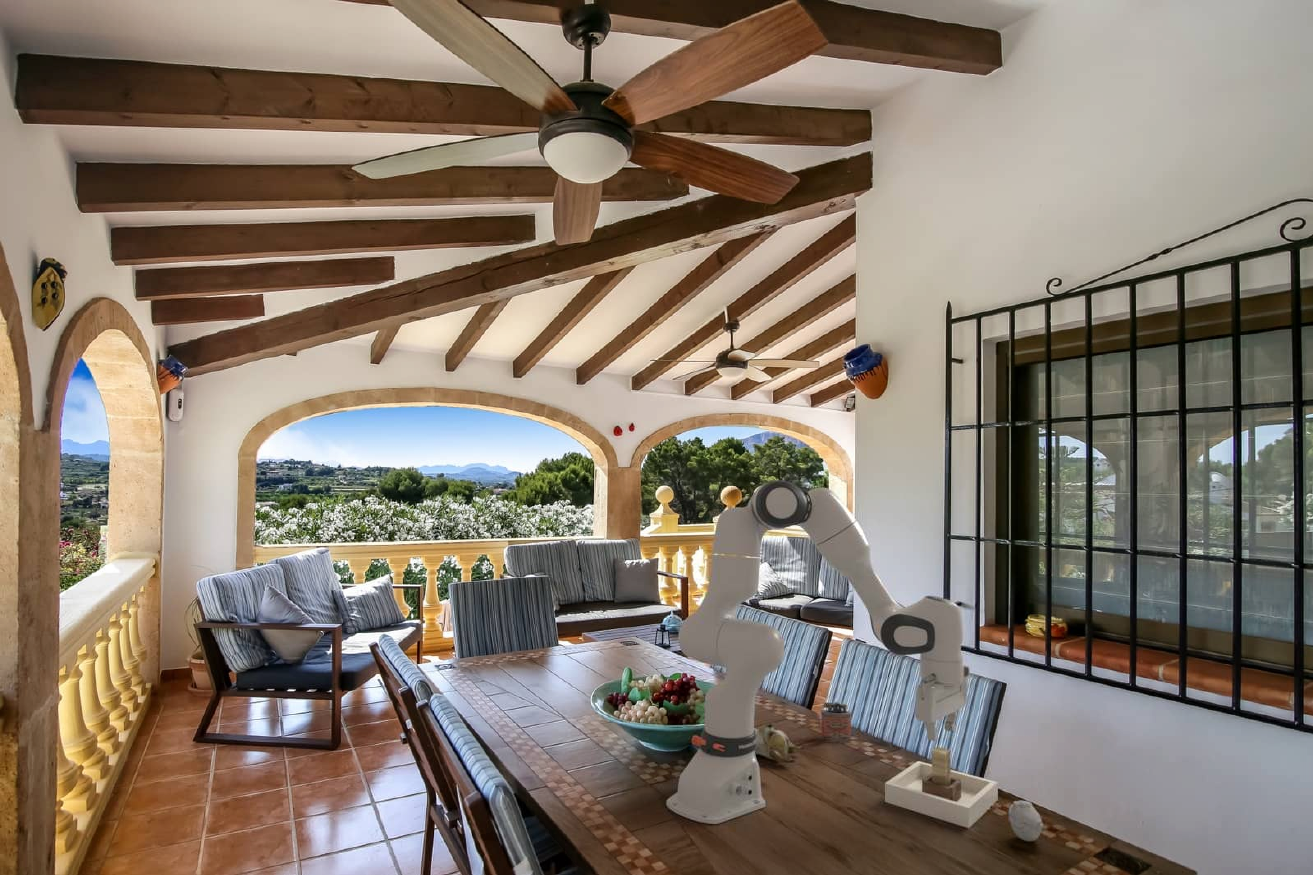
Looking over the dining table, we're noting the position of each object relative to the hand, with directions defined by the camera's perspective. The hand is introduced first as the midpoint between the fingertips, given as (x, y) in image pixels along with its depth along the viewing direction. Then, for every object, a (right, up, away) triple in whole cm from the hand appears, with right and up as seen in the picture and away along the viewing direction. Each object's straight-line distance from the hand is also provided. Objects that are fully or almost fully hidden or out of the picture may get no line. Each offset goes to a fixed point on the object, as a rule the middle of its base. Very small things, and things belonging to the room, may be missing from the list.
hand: (941, 735), depth 165 cm
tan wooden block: (0, -14, 0) cm, 14 cm away
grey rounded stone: (+10, -14, -17) cm, 24 cm away
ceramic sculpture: (-34, -16, +24) cm, 44 cm away
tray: (0, -15, 0) cm, 15 cm away
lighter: (-14, -17, +38) cm, 44 cm away
